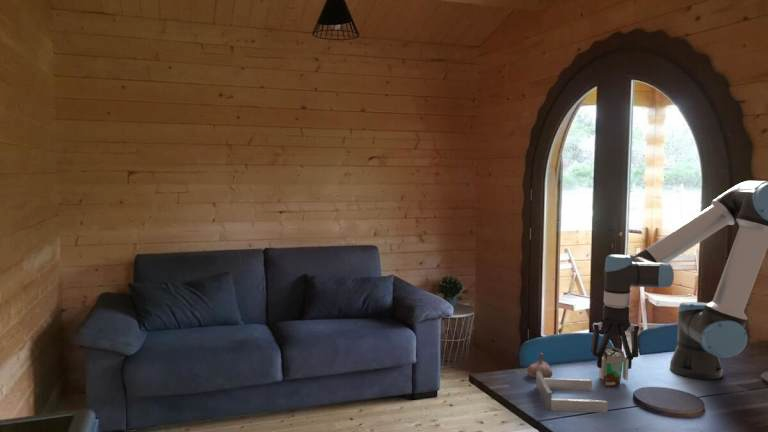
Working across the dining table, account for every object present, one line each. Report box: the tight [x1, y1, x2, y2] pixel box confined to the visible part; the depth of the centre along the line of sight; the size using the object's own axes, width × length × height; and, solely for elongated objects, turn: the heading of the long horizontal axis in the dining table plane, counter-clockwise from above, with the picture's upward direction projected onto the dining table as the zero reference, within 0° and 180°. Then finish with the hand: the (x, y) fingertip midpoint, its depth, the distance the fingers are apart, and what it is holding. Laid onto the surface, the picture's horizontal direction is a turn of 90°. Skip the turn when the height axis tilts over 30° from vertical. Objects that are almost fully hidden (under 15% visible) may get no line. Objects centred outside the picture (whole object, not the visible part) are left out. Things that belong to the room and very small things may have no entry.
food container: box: [602, 345, 626, 388], centre depth 185 cm, size 12×6×10 cm, turn 168°
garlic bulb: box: [527, 352, 553, 379], centre depth 190 cm, size 8×7×8 cm
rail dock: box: [535, 371, 609, 414], centre depth 171 cm, size 16×17×5 cm
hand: (613, 378), depth 185 cm, fingers closed on food container, 6 cm apart
